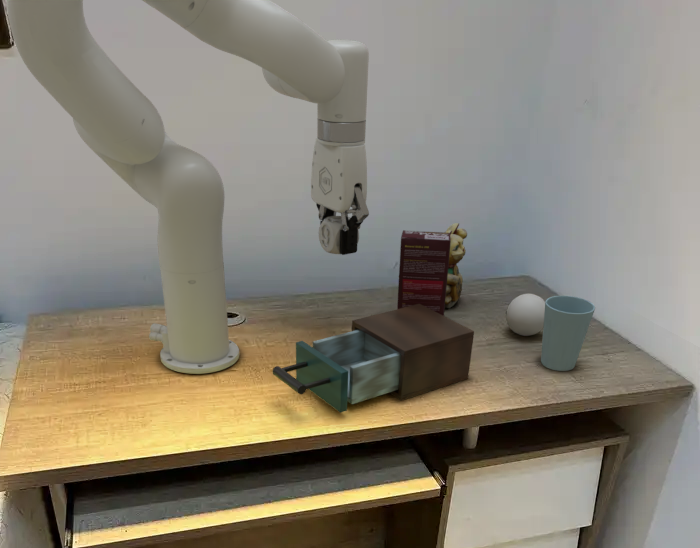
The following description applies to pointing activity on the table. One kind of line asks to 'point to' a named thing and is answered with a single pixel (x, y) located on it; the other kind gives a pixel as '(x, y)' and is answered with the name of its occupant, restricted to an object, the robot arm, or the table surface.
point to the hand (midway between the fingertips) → (338, 247)
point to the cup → (564, 331)
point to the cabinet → (422, 347)
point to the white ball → (526, 314)
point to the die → (331, 234)
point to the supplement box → (423, 269)
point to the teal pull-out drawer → (343, 369)
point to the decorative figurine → (455, 264)
